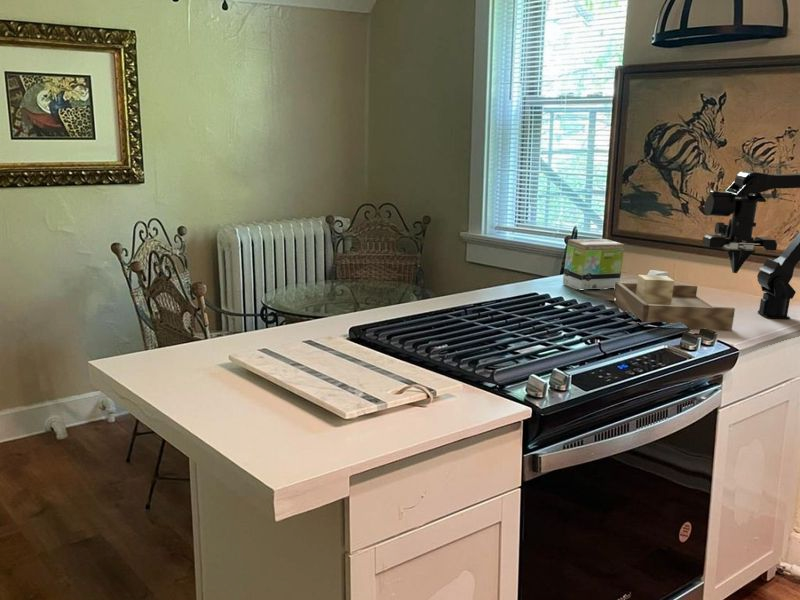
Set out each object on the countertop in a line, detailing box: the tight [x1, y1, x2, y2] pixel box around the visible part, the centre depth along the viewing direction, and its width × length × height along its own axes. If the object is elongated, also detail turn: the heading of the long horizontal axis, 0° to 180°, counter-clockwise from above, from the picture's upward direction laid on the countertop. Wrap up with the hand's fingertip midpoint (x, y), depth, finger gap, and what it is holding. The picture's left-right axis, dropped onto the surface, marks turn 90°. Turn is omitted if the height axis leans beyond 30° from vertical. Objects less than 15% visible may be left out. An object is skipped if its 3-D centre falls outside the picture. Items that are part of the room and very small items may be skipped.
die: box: [646, 269, 671, 278], centre depth 236 cm, size 8×9×10 cm
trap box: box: [612, 281, 736, 332], centre depth 216 cm, size 24×26×6 cm
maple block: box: [636, 274, 675, 305], centre depth 215 cm, size 8×6×8 cm
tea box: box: [562, 238, 626, 291], centre depth 246 cm, size 15×10×15 cm
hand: (734, 272), depth 218 cm, fingers closed
